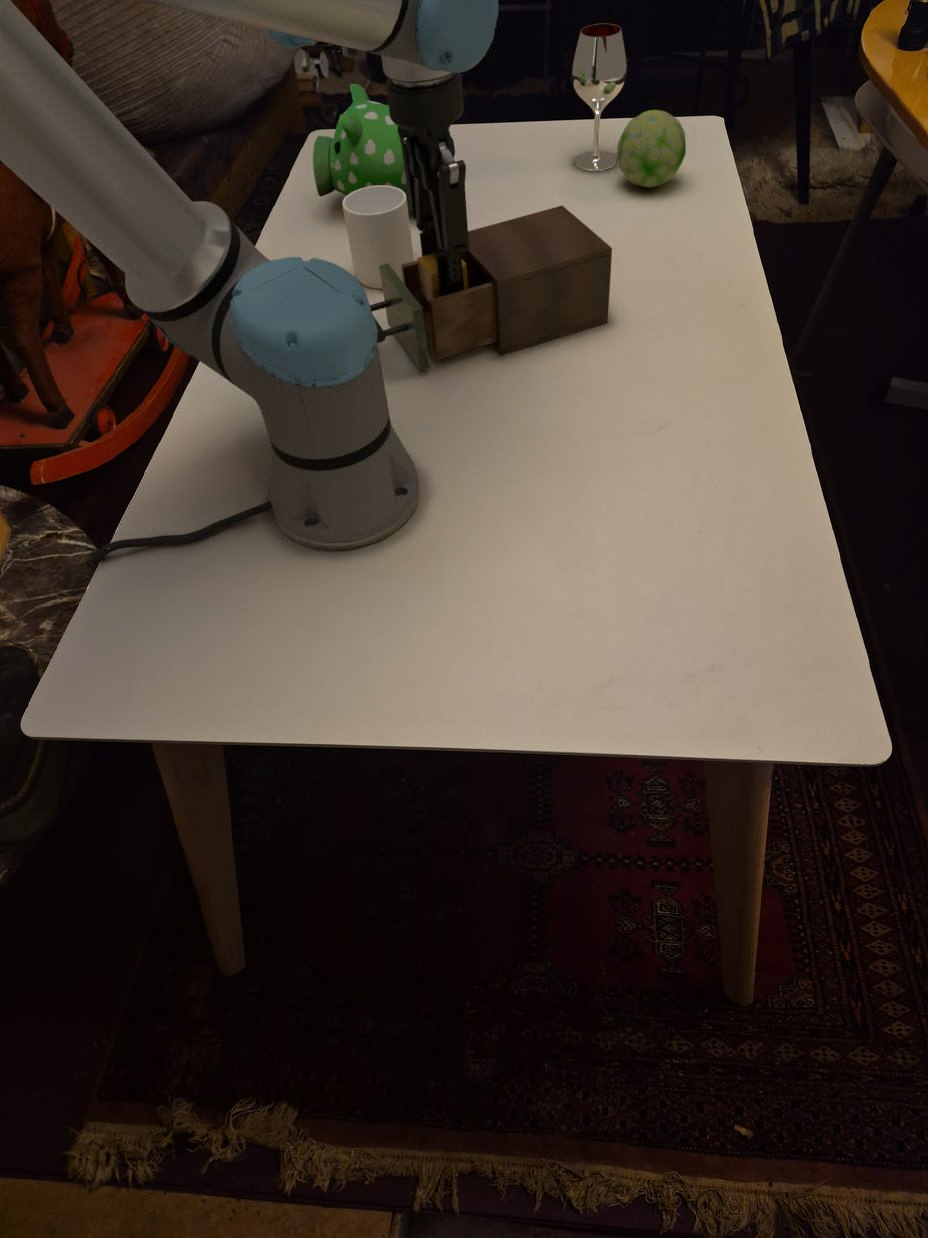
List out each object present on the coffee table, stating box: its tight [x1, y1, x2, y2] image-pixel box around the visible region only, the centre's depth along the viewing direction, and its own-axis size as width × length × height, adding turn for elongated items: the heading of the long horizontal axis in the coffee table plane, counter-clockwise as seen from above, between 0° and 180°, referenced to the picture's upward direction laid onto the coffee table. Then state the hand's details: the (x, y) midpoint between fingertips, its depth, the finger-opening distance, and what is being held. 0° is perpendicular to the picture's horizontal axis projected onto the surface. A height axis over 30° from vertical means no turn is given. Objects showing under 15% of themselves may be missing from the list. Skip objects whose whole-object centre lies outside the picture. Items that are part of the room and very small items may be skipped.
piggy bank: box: [312, 83, 411, 217], centre depth 126 cm, size 14×18×15 cm
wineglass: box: [570, 23, 628, 172], centre depth 129 cm, size 8×8×18 cm
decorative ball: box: [616, 109, 687, 189], centre depth 126 cm, size 10×10×10 cm
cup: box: [341, 185, 415, 290], centre depth 115 cm, size 8×12×10 cm
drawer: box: [370, 253, 498, 372], centre depth 103 cm, size 18×11×8 cm, turn 113°
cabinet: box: [467, 205, 613, 356], centre depth 105 cm, size 15×13×10 cm
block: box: [416, 253, 468, 302], centre depth 100 cm, size 4×4×4 cm
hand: (445, 293), depth 102 cm, fingers closed on block, 4 cm apart
